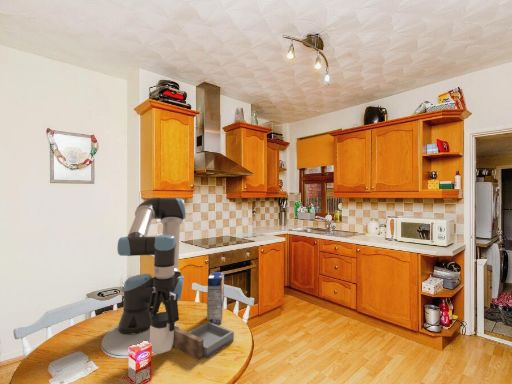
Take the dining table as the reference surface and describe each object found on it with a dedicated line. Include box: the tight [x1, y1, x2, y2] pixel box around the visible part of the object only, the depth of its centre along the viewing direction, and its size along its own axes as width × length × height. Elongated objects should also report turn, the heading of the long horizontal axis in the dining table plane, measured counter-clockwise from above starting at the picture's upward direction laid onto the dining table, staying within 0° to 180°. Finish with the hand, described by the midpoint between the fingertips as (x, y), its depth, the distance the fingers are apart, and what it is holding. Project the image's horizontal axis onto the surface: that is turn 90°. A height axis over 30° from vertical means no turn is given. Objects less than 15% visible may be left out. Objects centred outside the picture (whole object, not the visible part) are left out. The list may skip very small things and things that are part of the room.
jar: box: [149, 311, 174, 355], centre depth 103 cm, size 9×8×12 cm
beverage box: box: [206, 271, 225, 325], centre depth 135 cm, size 7×11×22 cm, turn 1°
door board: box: [171, 325, 204, 361], centre depth 106 cm, size 17×3×7 cm, turn 55°
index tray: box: [187, 321, 235, 359], centre depth 112 cm, size 15×16×4 cm
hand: (162, 334), depth 103 cm, fingers closed on jar, 8 cm apart
